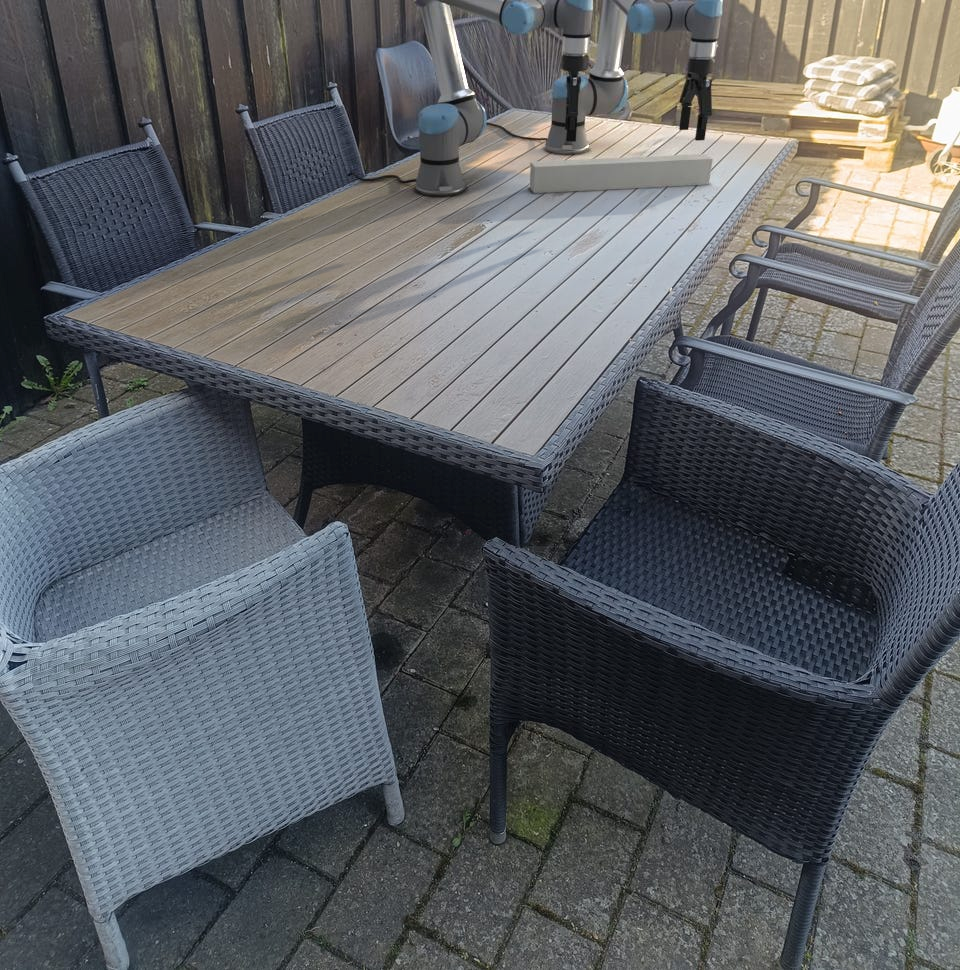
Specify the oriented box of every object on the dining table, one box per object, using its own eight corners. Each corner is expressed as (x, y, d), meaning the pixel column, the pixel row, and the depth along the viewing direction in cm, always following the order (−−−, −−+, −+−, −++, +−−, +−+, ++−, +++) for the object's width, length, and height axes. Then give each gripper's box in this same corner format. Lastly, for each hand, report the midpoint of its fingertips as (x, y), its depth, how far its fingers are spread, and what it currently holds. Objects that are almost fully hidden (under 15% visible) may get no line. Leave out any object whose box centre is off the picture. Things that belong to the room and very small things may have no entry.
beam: (533, 193, 256) (534, 166, 251) (529, 187, 260) (530, 161, 256) (708, 184, 263) (712, 158, 258) (701, 179, 268) (705, 153, 263)
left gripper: (591, 62, 221) (585, 146, 234) (586, 46, 242) (581, 125, 254) (562, 61, 222) (558, 146, 234) (560, 46, 242) (556, 124, 254)
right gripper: (731, 64, 234) (719, 144, 247) (698, 50, 255) (688, 125, 267) (705, 65, 234) (694, 145, 246) (674, 51, 254) (665, 126, 266)
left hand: (570, 135), depth 244 cm, fingers open, 13 cm apart
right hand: (691, 134), depth 256 cm, fingers open, 13 cm apart
